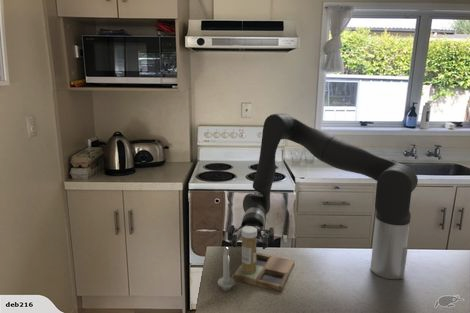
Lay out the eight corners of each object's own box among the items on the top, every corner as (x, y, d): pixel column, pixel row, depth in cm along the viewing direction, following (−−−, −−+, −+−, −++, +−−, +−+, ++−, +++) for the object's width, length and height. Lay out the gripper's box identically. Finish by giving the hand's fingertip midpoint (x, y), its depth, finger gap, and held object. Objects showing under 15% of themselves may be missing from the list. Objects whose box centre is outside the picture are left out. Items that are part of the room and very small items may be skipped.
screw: (215, 285, 97) (230, 281, 99) (221, 295, 93) (237, 290, 95) (214, 244, 94) (230, 240, 96) (221, 252, 90) (238, 248, 92)
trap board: (294, 264, 108) (294, 259, 108) (282, 291, 95) (282, 286, 94) (250, 255, 114) (250, 250, 113) (232, 279, 100) (232, 274, 100)
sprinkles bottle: (259, 271, 101) (260, 229, 98) (246, 276, 99) (247, 233, 96) (250, 264, 105) (251, 224, 102) (238, 268, 103) (238, 227, 99)
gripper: (232, 210, 114) (224, 232, 99) (274, 212, 113) (274, 235, 97) (232, 231, 116) (225, 255, 101) (274, 233, 114) (273, 258, 99)
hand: (249, 245), depth 99 cm, fingers open, 8 cm apart
